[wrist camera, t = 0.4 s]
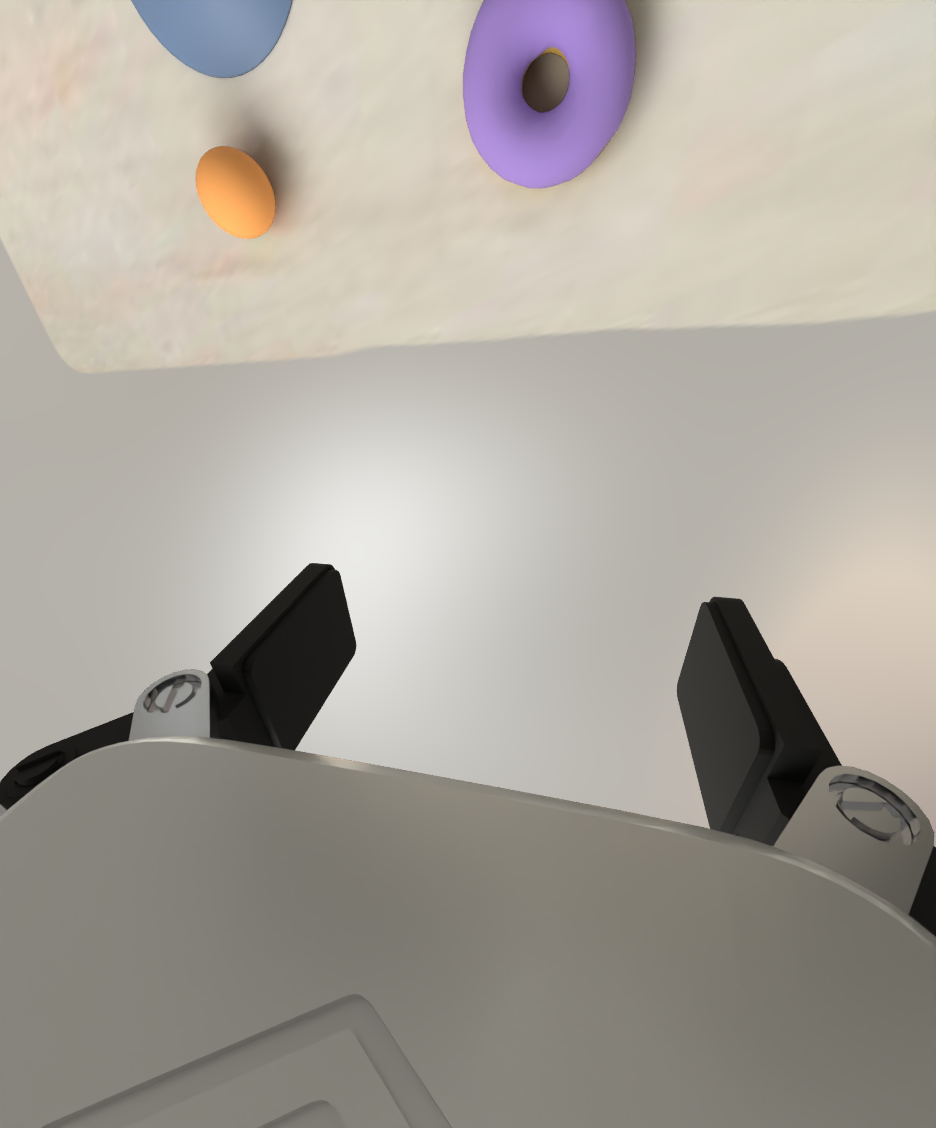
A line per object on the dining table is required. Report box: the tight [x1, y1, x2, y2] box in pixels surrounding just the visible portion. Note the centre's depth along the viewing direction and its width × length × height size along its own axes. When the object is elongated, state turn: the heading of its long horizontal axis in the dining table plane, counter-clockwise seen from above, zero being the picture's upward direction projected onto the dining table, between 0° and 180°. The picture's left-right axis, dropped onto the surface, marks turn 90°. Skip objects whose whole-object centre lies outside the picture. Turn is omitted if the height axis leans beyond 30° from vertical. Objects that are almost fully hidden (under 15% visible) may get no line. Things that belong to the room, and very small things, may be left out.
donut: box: [463, 0, 636, 188], centre depth 25 cm, size 10×9×5 cm
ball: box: [196, 146, 275, 239], centre depth 31 cm, size 5×5×5 cm
